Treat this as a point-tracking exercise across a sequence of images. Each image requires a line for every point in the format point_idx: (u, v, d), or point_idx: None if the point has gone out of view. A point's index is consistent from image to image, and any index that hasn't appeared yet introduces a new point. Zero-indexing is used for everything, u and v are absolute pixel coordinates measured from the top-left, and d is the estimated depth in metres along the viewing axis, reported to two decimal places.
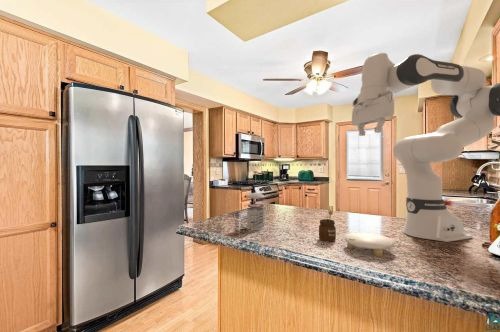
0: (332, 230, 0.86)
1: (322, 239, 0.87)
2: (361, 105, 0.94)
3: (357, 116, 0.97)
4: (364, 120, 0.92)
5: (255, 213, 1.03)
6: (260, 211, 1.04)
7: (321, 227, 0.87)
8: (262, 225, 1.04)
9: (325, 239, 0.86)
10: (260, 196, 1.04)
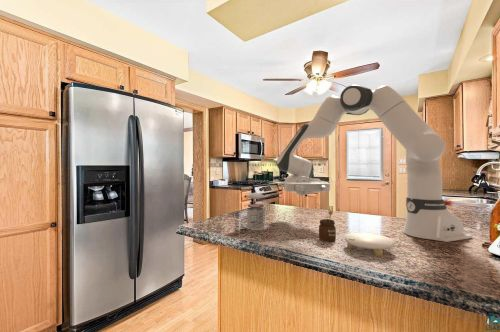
0: (332, 230, 0.86)
1: (322, 239, 0.87)
2: (310, 190, 1.12)
3: None
4: (311, 191, 1.06)
5: (255, 213, 1.03)
6: (260, 211, 1.04)
7: (321, 227, 0.87)
8: (262, 225, 1.04)
9: (325, 239, 0.86)
10: (260, 196, 1.04)
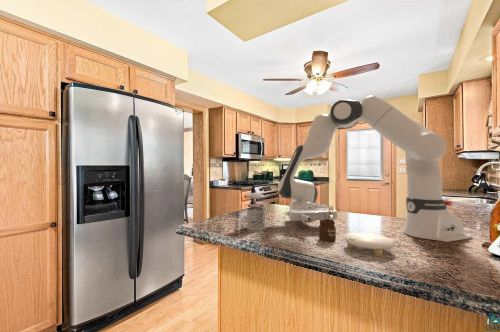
0: (332, 230, 0.86)
1: (322, 239, 0.87)
2: None
3: None
4: None
5: (255, 213, 1.03)
6: (260, 211, 1.04)
7: (321, 227, 0.87)
8: (262, 225, 1.04)
9: (325, 239, 0.86)
10: (260, 196, 1.04)
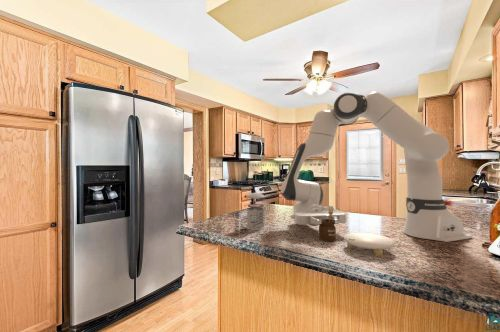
0: (332, 230, 0.86)
1: (322, 239, 0.87)
2: None
3: None
4: None
5: (255, 213, 1.03)
6: (260, 211, 1.04)
7: (321, 227, 0.87)
8: (262, 225, 1.04)
9: (325, 239, 0.86)
10: (260, 196, 1.04)
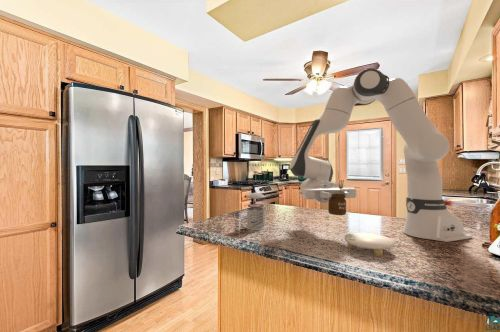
0: (343, 203, 0.83)
1: (332, 212, 0.84)
2: None
3: None
4: None
5: (255, 213, 1.03)
6: (260, 211, 1.04)
7: (331, 200, 0.85)
8: (262, 225, 1.04)
9: (335, 212, 0.84)
10: (260, 196, 1.04)
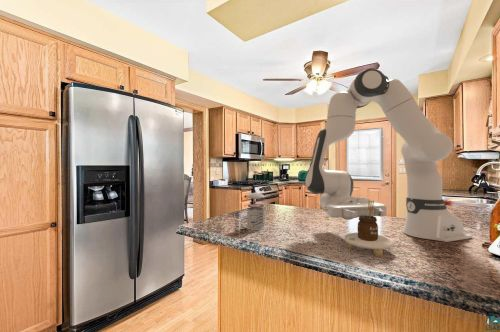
0: (375, 227, 0.75)
1: (363, 238, 0.76)
2: None
3: None
4: None
5: (255, 213, 1.03)
6: (260, 211, 1.04)
7: (361, 224, 0.77)
8: (262, 225, 1.04)
9: (366, 238, 0.76)
10: (260, 196, 1.04)
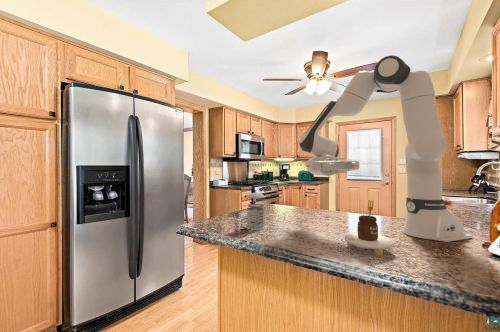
0: (375, 227, 0.75)
1: (363, 238, 0.76)
2: (336, 170, 1.05)
3: None
4: (339, 169, 0.98)
5: (255, 213, 1.03)
6: (260, 211, 1.04)
7: (361, 224, 0.77)
8: (262, 225, 1.04)
9: (366, 238, 0.76)
10: (260, 196, 1.04)
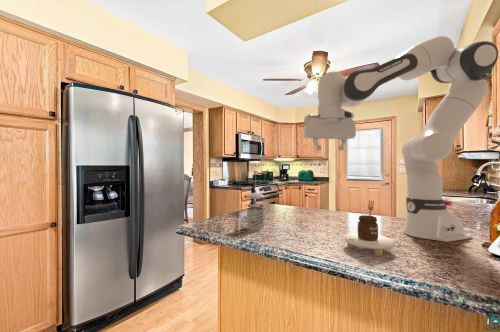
0: (375, 227, 0.75)
1: (363, 238, 0.76)
2: None
3: None
4: None
5: (255, 213, 1.03)
6: (260, 211, 1.04)
7: (361, 224, 0.77)
8: (262, 225, 1.04)
9: (367, 238, 0.76)
10: (260, 196, 1.04)
